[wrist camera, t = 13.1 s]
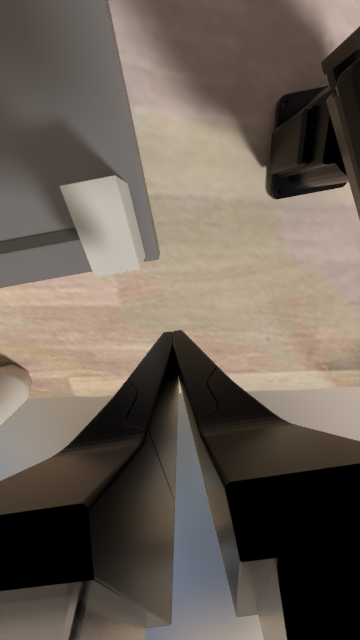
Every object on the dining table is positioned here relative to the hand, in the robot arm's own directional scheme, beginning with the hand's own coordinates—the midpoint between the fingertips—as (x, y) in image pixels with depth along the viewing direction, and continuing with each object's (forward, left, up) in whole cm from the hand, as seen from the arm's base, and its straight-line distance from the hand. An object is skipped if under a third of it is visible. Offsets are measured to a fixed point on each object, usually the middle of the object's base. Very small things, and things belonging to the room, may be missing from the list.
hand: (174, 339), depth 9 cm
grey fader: (+3, -5, -9) cm, 11 cm away
